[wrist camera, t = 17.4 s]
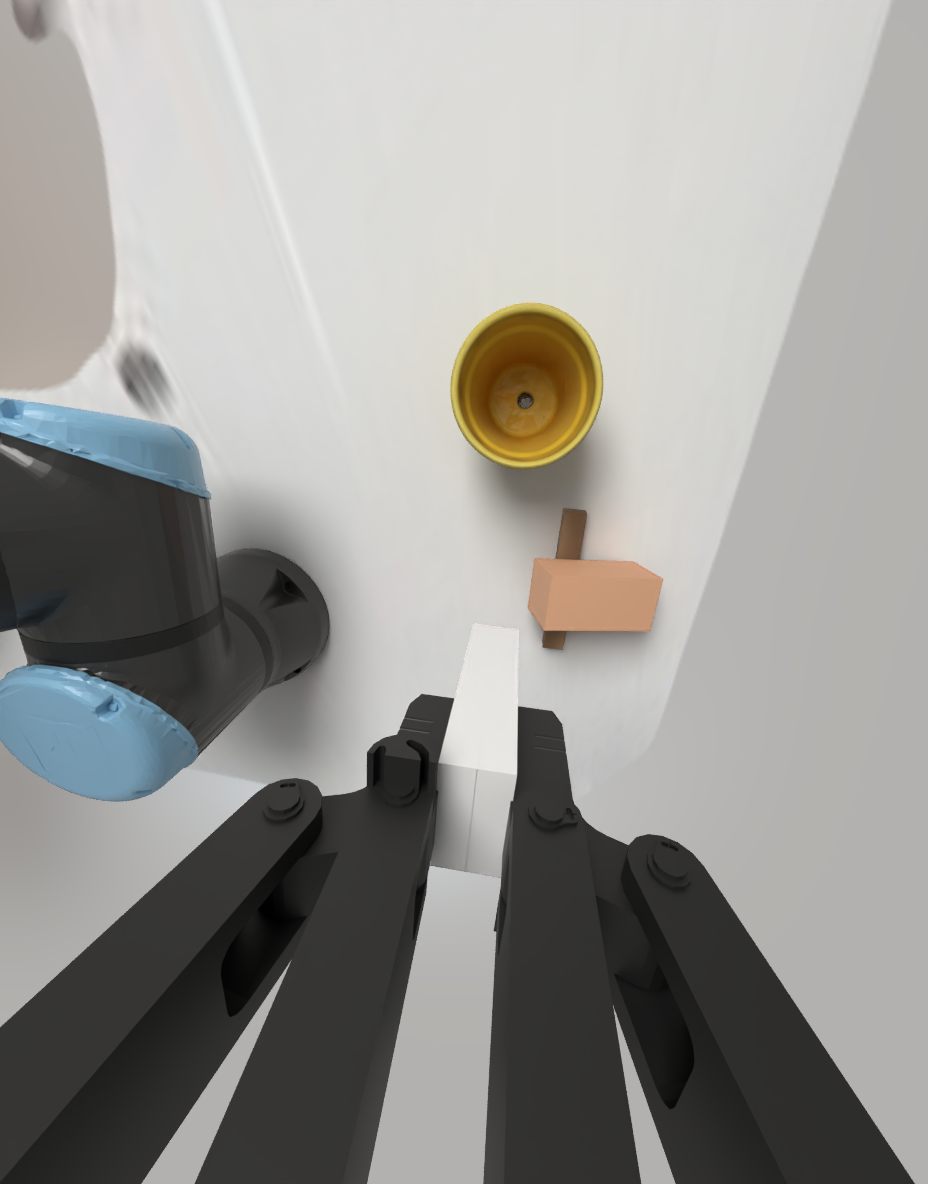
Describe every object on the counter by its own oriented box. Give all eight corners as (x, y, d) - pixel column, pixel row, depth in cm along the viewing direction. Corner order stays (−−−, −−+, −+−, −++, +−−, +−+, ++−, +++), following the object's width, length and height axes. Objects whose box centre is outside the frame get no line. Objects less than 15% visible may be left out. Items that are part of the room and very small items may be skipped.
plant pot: (588, 331, 36) (611, 296, 27) (579, 461, 40) (597, 469, 31) (464, 336, 38) (447, 305, 28) (466, 462, 41) (451, 470, 32)
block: (543, 630, 38) (650, 631, 39) (552, 575, 36) (663, 578, 38) (527, 607, 42) (623, 609, 44) (534, 558, 41) (633, 561, 42)
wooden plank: (542, 640, 46) (542, 647, 45) (563, 508, 41) (565, 510, 40) (561, 643, 46) (562, 649, 45) (584, 510, 41) (587, 513, 40)
